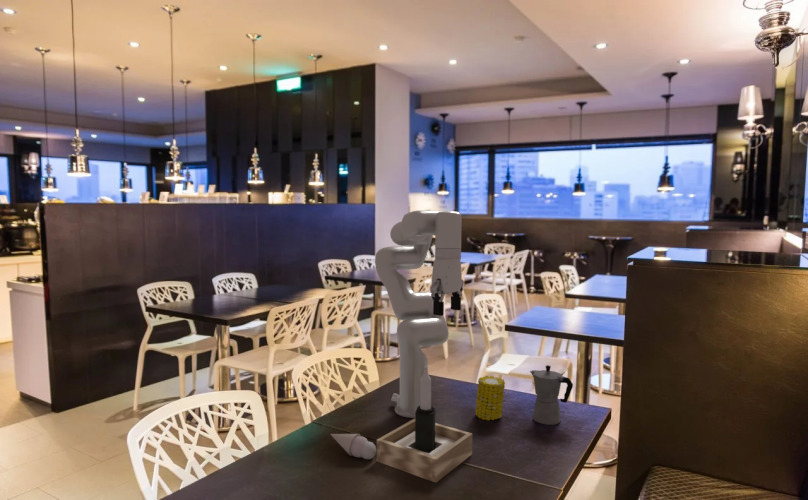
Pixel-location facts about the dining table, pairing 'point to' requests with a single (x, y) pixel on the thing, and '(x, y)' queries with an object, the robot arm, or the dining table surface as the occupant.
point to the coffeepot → (549, 395)
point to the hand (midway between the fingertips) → (447, 312)
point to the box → (430, 466)
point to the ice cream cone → (356, 445)
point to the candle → (425, 417)
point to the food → (489, 398)
